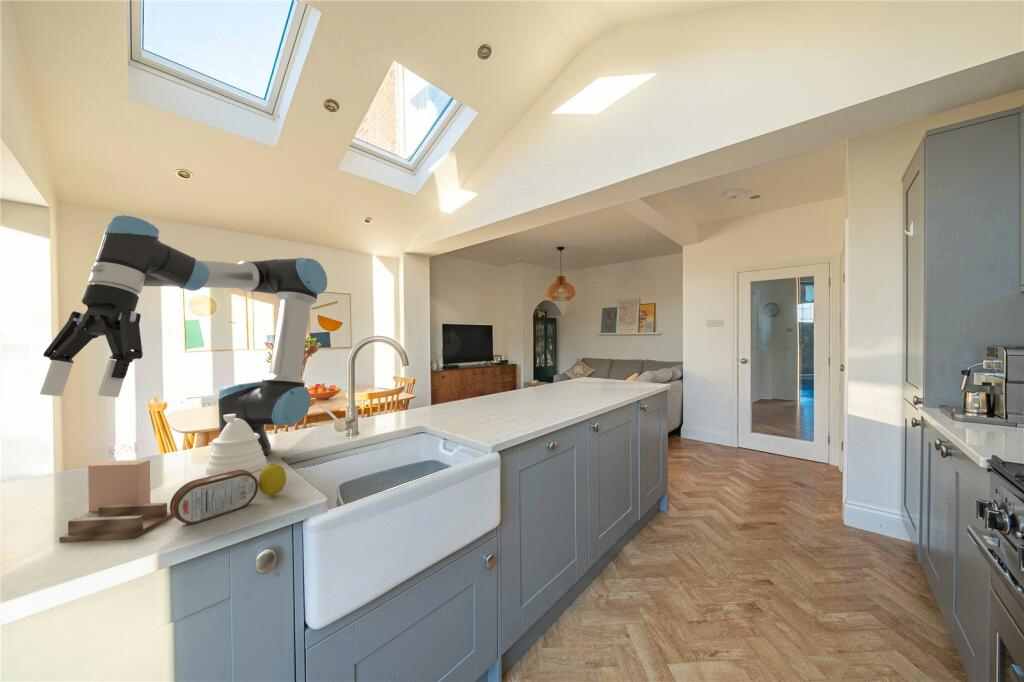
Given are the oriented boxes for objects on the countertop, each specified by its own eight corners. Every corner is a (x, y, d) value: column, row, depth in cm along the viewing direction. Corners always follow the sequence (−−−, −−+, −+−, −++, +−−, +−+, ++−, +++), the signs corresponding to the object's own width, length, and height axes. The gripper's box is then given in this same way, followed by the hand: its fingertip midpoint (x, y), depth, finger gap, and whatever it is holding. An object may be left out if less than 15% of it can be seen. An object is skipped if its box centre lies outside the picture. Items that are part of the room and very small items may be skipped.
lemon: (262, 493, 92) (262, 460, 92) (288, 491, 94) (288, 458, 93) (255, 503, 87) (254, 468, 86) (282, 500, 88) (282, 465, 88)
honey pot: (235, 494, 92) (234, 419, 91) (191, 490, 94) (191, 417, 94) (278, 475, 104) (277, 409, 104) (238, 472, 107) (238, 408, 107)
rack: (59, 541, 70) (59, 524, 70) (106, 518, 79) (106, 502, 79) (135, 538, 72) (135, 520, 72) (173, 516, 80) (173, 500, 80)
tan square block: (88, 511, 83) (88, 465, 83) (102, 505, 86) (101, 461, 86) (138, 509, 84) (138, 464, 84) (150, 503, 87) (149, 459, 87)
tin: (254, 500, 88) (254, 464, 88) (260, 504, 86) (260, 466, 86) (169, 527, 76) (168, 485, 76) (174, 532, 74) (174, 488, 74)
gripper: (41, 284, 75) (-1, 392, 70) (144, 279, 71) (108, 393, 65) (88, 298, 83) (53, 397, 77) (184, 294, 78) (155, 399, 72)
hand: (78, 396), depth 71 cm, fingers open, 13 cm apart
